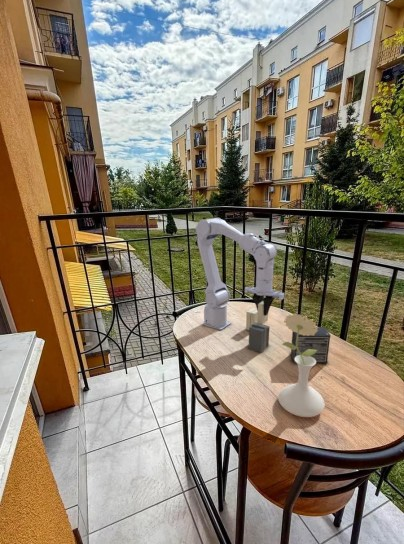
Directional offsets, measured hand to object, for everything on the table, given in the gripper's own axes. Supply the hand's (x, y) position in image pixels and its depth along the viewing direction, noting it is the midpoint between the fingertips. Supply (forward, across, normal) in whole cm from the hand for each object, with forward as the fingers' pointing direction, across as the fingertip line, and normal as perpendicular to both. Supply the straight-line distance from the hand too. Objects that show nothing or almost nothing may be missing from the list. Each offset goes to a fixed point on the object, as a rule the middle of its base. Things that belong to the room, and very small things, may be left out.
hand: (262, 313), depth 104 cm
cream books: (+10, -7, +6) cm, 14 cm away
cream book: (+3, 0, 0) cm, 3 cm away
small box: (+11, +19, -4) cm, 22 cm away
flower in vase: (+11, +24, -27) cm, 38 cm away
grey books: (+10, +2, -6) cm, 12 cm away
